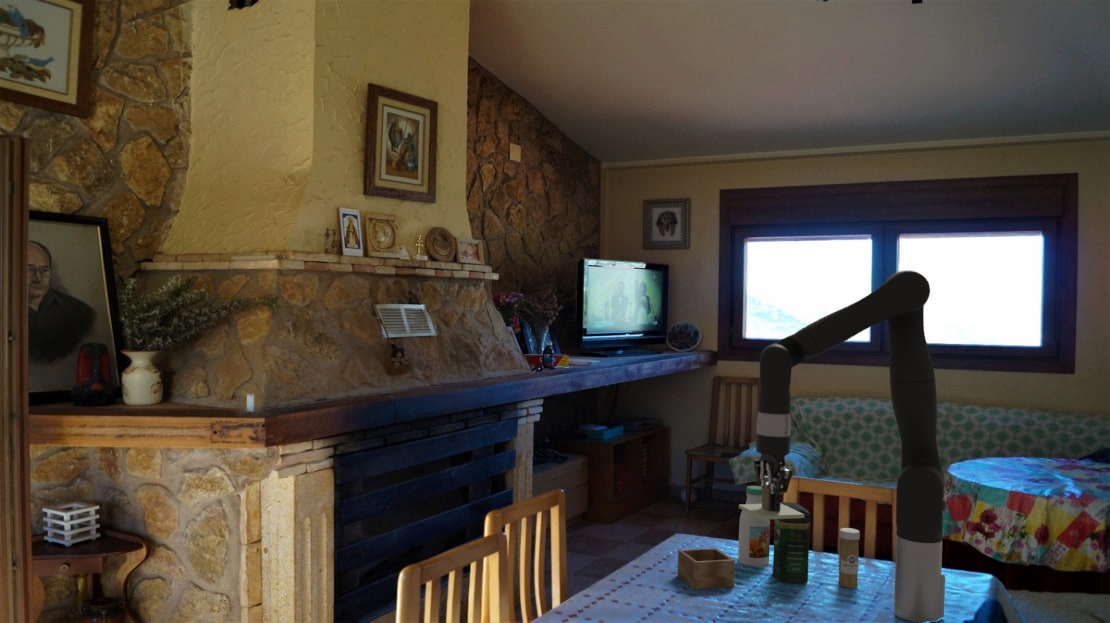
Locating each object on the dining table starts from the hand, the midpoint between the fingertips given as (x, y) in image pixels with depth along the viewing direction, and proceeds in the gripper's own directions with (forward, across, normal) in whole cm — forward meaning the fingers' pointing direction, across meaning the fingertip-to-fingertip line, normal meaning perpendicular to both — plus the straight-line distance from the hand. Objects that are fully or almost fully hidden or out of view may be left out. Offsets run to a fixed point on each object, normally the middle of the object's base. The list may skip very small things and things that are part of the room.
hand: (771, 507), depth 196 cm
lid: (+1, 0, 0) cm, 1 cm away
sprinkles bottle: (+21, +5, -24) cm, 32 cm away
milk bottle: (+21, +24, -9) cm, 33 cm away
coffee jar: (+21, +11, -12) cm, 27 cm away
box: (+21, +12, +10) cm, 26 cm away
